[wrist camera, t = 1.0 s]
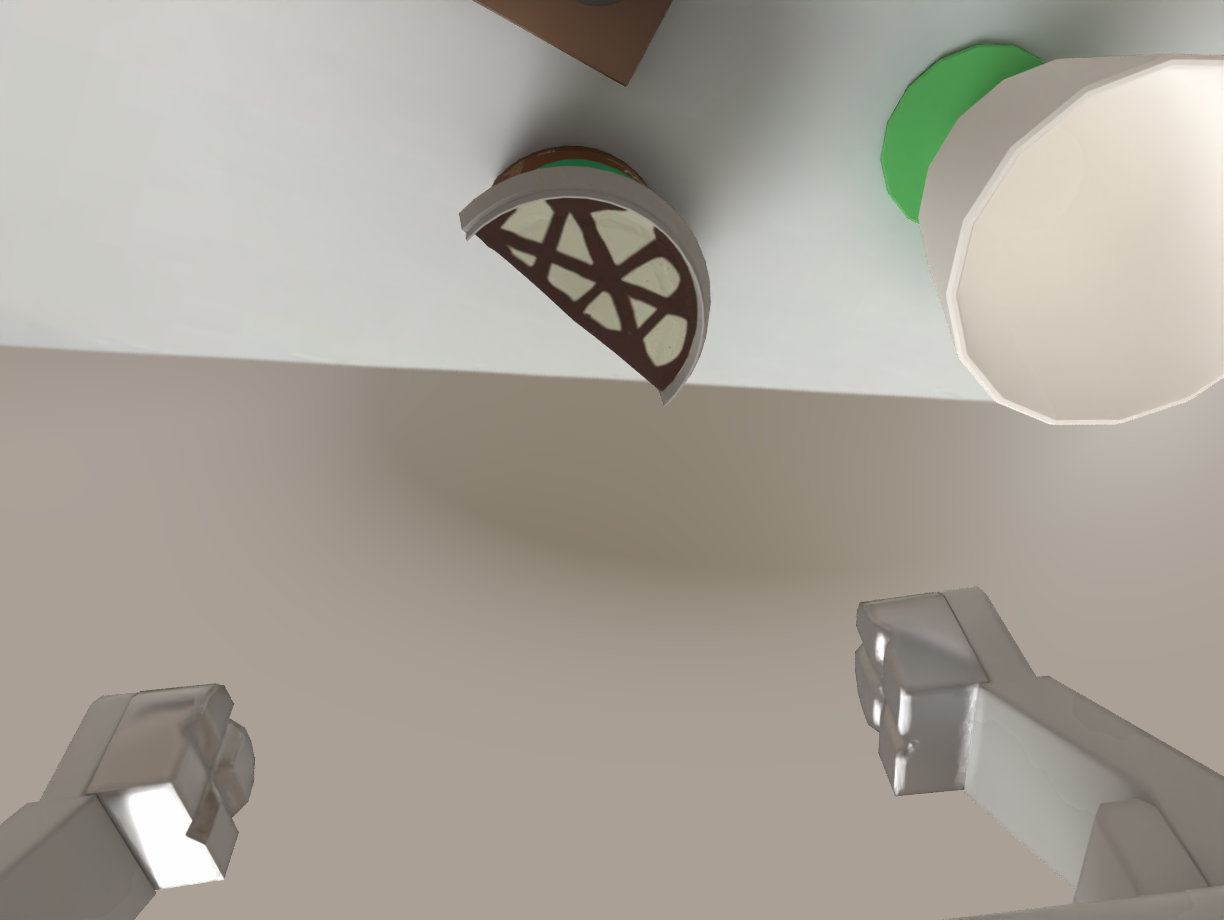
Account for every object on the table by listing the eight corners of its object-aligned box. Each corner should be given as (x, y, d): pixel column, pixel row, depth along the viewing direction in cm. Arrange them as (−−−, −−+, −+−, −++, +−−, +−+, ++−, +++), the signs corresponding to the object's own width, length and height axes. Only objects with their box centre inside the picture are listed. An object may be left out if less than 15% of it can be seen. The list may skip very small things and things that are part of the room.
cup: (1168, 26, 44) (1435, 104, 31) (1035, 296, 52) (1206, 454, 38) (895, -47, 42) (1058, 4, 29) (795, 247, 49) (889, 397, 36)
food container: (737, 237, 49) (778, 319, 40) (651, 319, 51) (673, 414, 43) (557, 59, 44) (561, 111, 35) (470, 159, 46) (455, 230, 37)
